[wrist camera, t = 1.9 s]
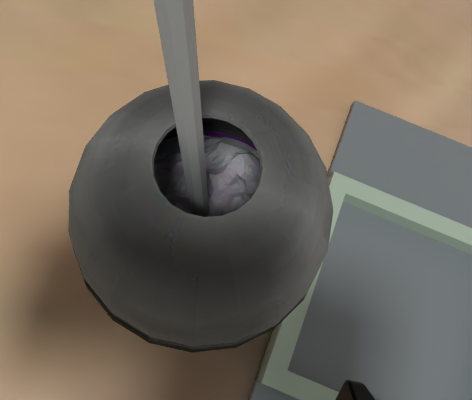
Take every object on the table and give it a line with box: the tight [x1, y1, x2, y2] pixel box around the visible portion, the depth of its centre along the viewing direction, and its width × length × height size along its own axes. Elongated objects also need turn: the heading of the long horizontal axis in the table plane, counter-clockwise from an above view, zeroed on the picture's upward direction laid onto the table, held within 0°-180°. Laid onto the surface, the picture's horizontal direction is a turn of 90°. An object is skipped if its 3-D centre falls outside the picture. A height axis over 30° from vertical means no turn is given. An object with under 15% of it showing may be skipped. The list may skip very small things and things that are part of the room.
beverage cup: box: [69, 0, 333, 352], centre depth 13 cm, size 7×7×20 cm
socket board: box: [248, 101, 472, 400], centre depth 22 cm, size 22×12×2 cm, turn 158°
